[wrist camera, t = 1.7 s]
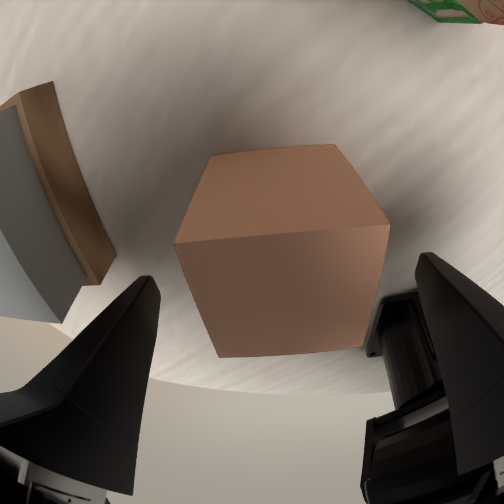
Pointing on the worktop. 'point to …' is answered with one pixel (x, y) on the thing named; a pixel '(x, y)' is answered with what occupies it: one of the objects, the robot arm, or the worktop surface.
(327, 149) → the terracotta block
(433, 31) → the worktop surface
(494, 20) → the stack of blocks
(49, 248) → the tower top
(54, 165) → the tower base
